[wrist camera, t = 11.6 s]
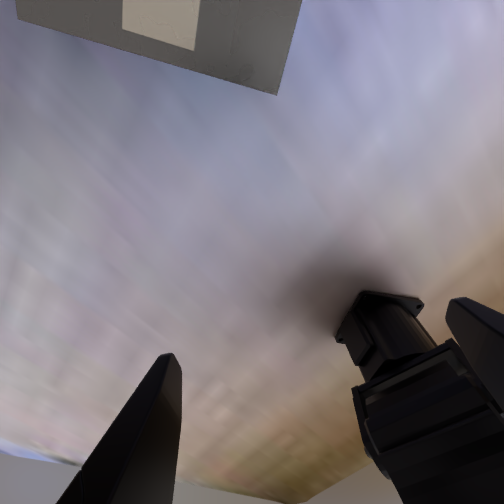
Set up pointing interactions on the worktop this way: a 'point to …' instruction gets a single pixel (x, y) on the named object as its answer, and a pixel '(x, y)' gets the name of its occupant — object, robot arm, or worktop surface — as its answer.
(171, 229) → the worktop surface
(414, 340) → the robot arm
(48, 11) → the plate
